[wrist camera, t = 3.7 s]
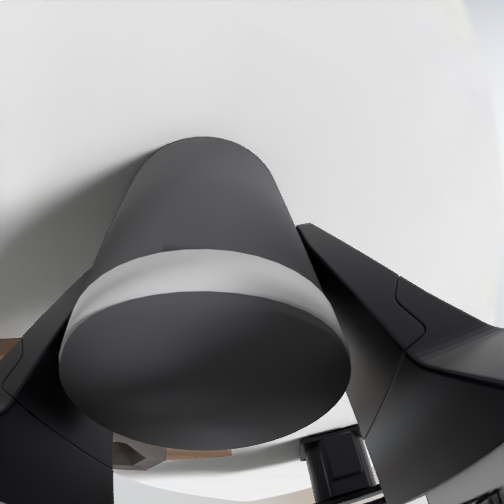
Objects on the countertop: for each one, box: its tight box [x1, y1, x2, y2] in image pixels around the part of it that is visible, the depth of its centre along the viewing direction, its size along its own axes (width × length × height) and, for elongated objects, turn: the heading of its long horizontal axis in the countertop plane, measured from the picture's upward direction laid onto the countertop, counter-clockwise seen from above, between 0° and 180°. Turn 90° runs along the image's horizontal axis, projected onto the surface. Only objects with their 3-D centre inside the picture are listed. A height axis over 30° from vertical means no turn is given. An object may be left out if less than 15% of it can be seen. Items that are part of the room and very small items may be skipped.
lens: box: [59, 137, 351, 451], centre depth 8 cm, size 5×5×7 cm
